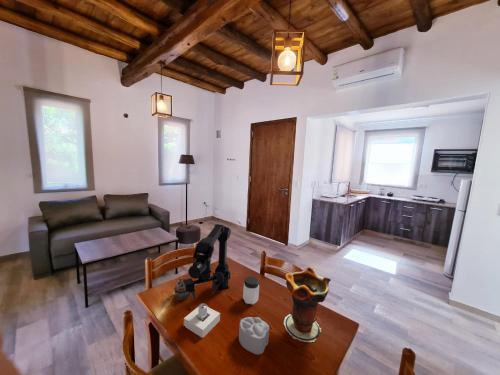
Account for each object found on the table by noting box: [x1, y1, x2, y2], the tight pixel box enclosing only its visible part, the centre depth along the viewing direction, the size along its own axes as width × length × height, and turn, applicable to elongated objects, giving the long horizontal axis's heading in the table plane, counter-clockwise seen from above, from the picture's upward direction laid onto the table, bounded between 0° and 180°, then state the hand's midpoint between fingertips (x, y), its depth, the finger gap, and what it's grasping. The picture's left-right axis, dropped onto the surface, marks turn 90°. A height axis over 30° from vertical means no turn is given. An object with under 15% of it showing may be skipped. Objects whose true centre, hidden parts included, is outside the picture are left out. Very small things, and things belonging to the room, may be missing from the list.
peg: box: [198, 302, 208, 322], centre depth 97 cm, size 4×4×9 cm
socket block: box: [183, 306, 221, 339], centre depth 98 cm, size 12×12×4 cm
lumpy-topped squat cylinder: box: [238, 316, 270, 355], centre depth 90 cm, size 10×13×9 cm
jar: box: [242, 275, 260, 305], centre depth 117 cm, size 9×8×12 cm
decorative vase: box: [283, 266, 332, 343], centre depth 99 cm, size 21×23×28 cm
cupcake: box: [173, 278, 192, 302], centre depth 116 cm, size 10×10×10 cm
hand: (203, 296), depth 99 cm, fingers open, 9 cm apart
